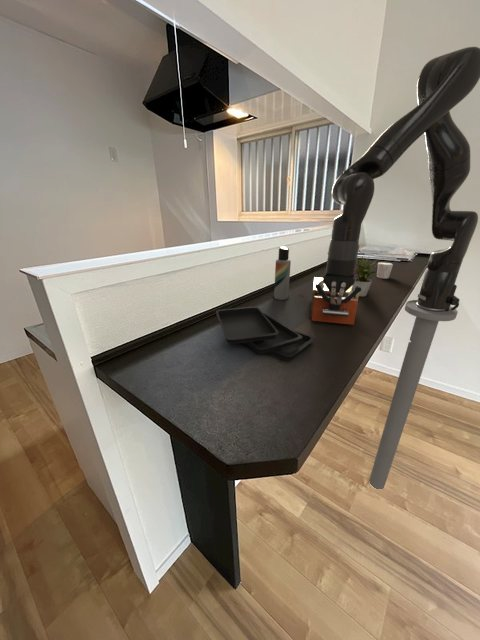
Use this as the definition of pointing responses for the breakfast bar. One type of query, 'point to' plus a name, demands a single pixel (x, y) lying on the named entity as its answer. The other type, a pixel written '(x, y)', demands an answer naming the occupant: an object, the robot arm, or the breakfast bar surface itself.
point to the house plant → (364, 276)
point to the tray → (262, 332)
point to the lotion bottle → (282, 274)
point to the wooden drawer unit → (334, 311)
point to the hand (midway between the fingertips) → (333, 314)
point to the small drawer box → (326, 292)
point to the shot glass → (384, 269)
